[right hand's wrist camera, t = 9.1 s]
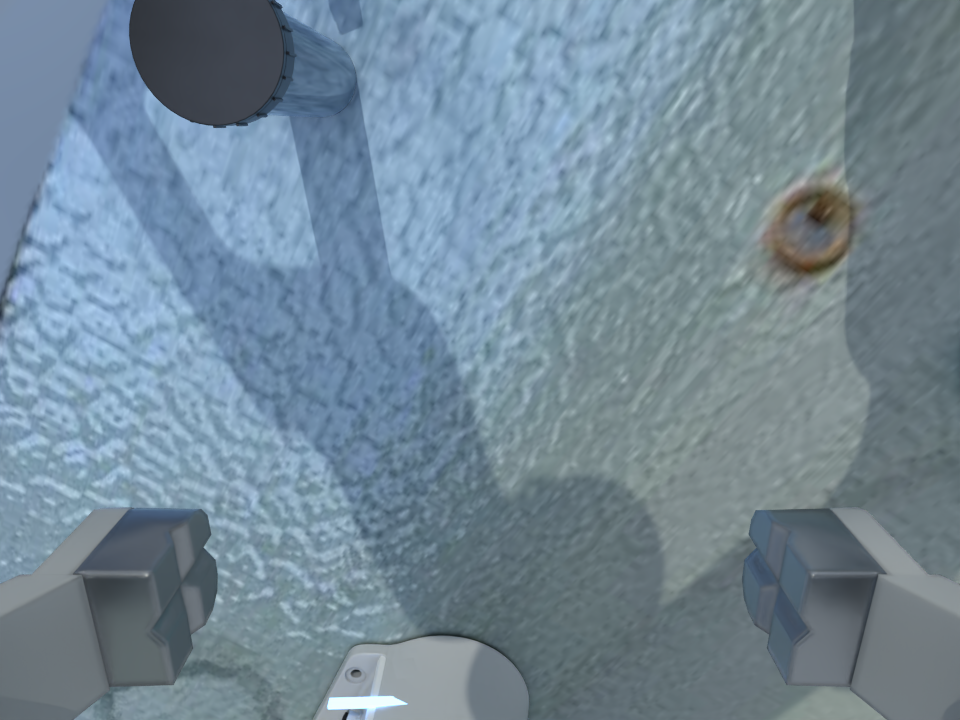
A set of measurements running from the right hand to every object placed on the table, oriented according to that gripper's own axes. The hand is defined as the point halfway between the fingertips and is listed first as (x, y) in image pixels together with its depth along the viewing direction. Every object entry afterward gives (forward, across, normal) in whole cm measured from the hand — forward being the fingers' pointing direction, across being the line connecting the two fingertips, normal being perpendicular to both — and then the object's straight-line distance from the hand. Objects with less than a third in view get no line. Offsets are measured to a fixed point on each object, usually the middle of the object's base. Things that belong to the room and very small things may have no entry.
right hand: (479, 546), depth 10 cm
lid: (+18, -10, +8) cm, 22 cm away
